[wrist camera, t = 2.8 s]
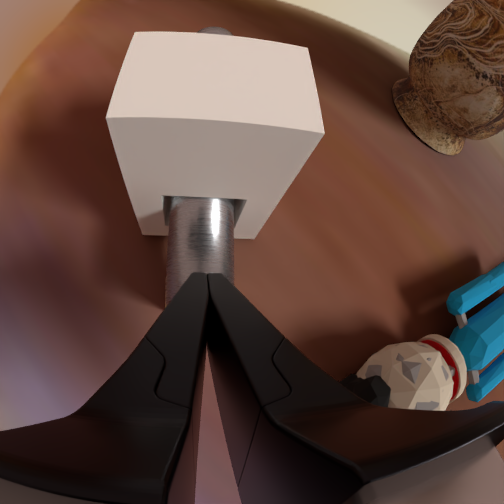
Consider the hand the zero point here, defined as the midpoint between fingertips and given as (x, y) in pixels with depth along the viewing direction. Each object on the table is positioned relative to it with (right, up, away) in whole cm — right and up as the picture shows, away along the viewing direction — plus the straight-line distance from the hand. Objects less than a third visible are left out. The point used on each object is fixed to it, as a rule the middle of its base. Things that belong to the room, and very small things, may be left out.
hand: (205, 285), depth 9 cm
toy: (+19, -5, +11) cm, 23 cm away
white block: (-2, +4, +9) cm, 10 cm away
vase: (+18, +14, +16) cm, 28 cm away
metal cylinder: (-2, +6, +9) cm, 11 cm away
